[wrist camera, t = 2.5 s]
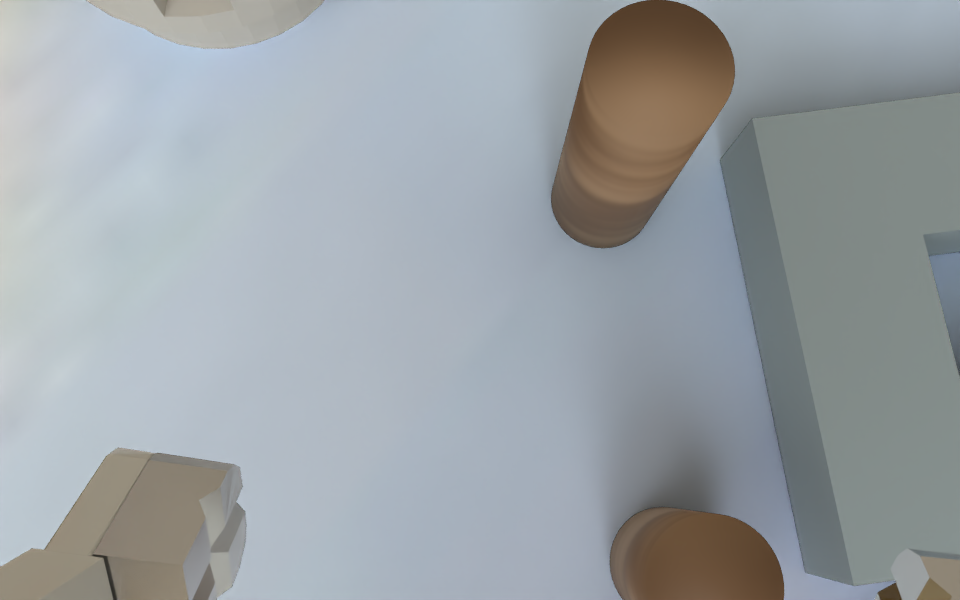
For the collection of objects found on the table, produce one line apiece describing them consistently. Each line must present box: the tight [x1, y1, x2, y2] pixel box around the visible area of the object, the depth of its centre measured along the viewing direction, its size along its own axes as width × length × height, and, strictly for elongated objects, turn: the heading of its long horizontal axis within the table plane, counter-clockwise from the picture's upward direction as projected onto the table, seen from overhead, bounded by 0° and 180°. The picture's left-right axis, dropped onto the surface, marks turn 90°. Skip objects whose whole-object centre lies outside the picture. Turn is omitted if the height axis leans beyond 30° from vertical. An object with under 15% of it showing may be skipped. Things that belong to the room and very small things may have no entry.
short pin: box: [610, 507, 784, 600], centre depth 27 cm, size 4×4×6 cm
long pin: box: [551, 0, 735, 248], centre depth 28 cm, size 4×4×11 cm
